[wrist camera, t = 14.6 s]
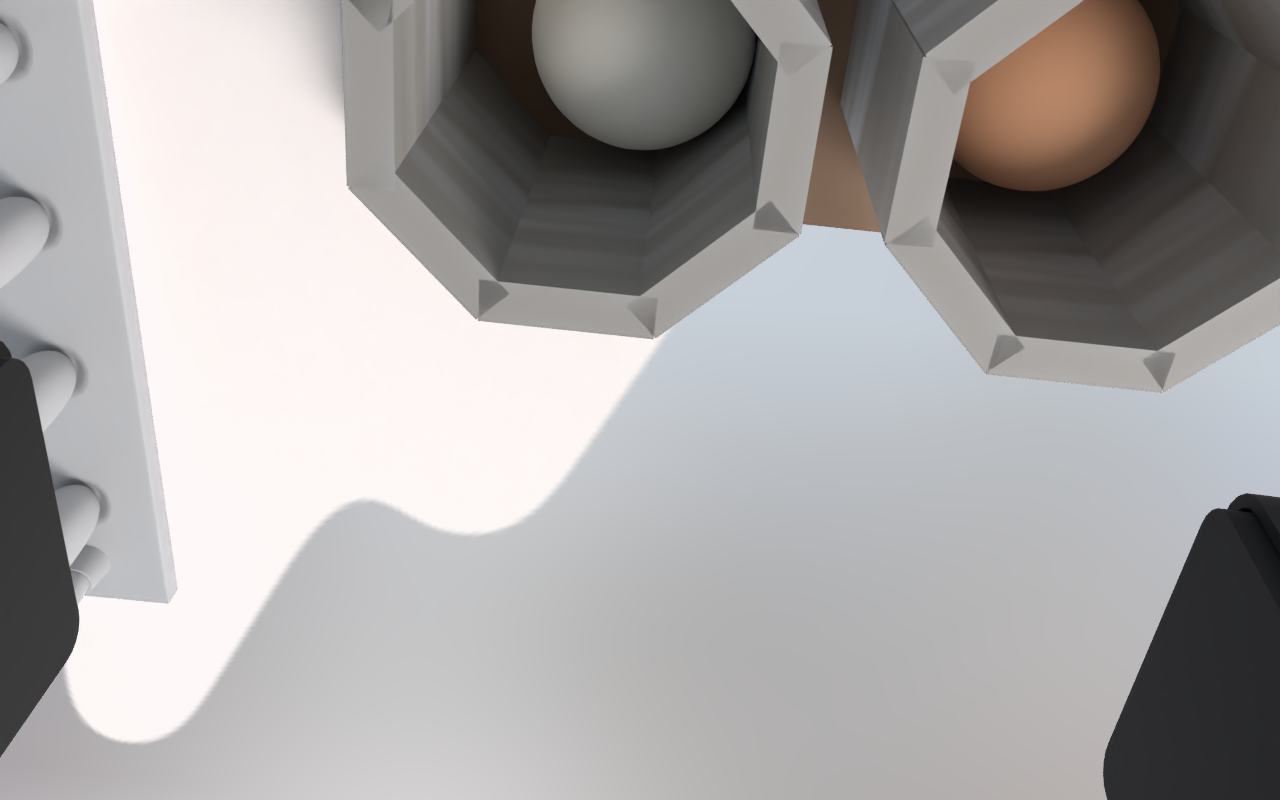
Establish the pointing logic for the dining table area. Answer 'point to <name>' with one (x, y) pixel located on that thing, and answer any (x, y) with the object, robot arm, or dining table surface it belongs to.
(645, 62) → the ball cream
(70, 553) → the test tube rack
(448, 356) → the dining table surface
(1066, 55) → the ball terracotta
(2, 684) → the robot arm
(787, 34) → the stand
